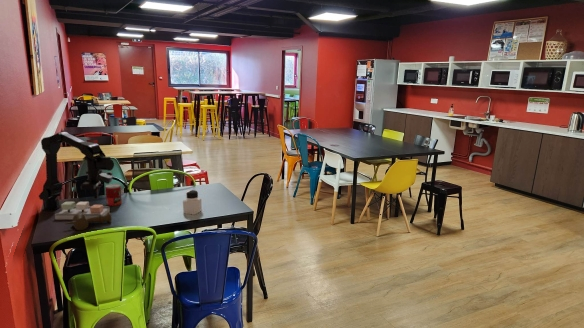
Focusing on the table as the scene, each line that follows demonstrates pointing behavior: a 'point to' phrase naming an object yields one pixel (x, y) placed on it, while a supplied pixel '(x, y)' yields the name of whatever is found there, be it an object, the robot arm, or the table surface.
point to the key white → (82, 205)
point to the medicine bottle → (192, 203)
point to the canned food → (113, 194)
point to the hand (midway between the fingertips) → (96, 198)
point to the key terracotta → (96, 208)
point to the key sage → (68, 205)
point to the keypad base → (71, 213)
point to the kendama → (88, 220)
